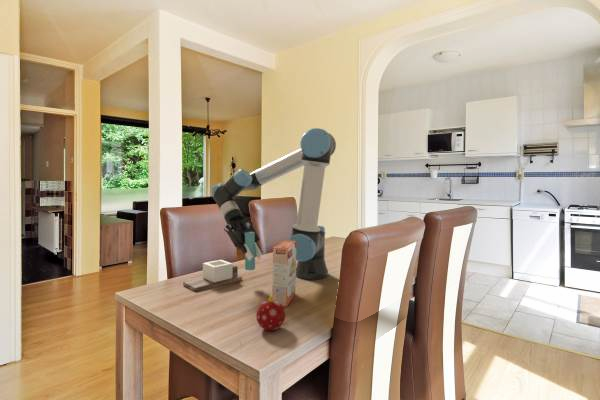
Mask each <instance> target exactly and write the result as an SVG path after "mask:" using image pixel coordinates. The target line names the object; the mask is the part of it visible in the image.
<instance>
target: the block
mask: <svg viewBox="0 0 600 400" xmlns="http://www.w3.org/2000/svg"><path fill="white" fill-rule="evenodd" d="M233 265H234V264H233V263H232V262H230V261H226V260H224V259H218V260H212V261H207V262H202V278H205V279H207V280H209V281H212V282H218V281H222V280H227V279H231V278H233Z"/></svg>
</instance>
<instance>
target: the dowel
mask: <svg viewBox="0 0 600 400" xmlns="http://www.w3.org/2000/svg"><path fill="white" fill-rule="evenodd" d="M244 244H247V246H248V248H249V250H250V252H251V254H252V255H253V258H252V259H251V260H250V261H249V260H248V258H247V257H246V255H245V254H244V270H246V271H253V270H255V269H256V254H255V232H245V235H244Z"/></svg>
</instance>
